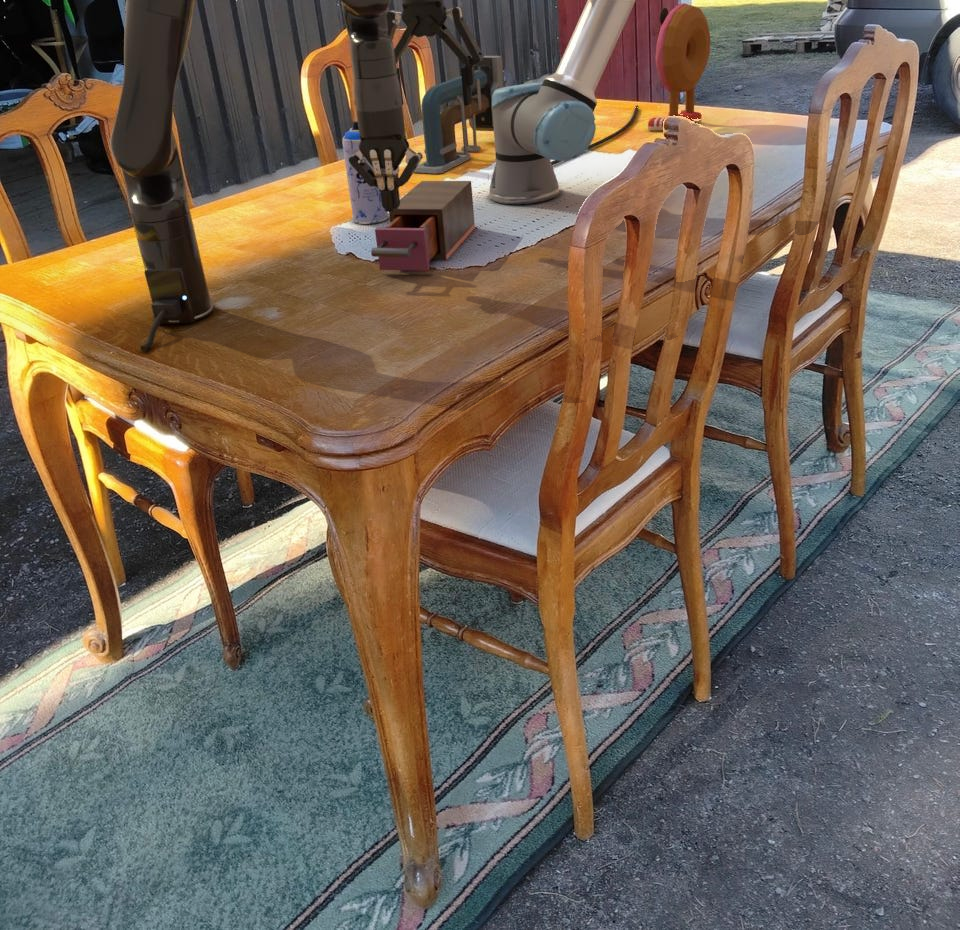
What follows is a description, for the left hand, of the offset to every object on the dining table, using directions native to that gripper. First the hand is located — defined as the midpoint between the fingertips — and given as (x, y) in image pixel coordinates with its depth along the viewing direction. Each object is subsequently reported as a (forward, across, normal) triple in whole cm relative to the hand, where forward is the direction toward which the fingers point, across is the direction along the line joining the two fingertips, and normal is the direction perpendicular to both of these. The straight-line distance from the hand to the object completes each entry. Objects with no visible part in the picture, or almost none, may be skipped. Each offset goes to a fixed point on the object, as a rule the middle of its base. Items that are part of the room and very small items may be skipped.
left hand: (391, 210), depth 166 cm
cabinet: (+13, 0, -21) cm, 24 cm away
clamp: (+13, +16, -90) cm, 92 cm away
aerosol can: (+13, +20, -36) cm, 43 cm away
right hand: (-12, 0, -26) cm, 29 cm away
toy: (+13, -36, -121) cm, 127 cm away
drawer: (+12, 0, -9) cm, 14 cm away
